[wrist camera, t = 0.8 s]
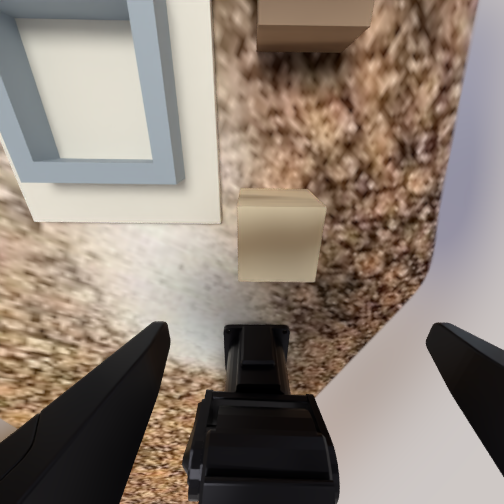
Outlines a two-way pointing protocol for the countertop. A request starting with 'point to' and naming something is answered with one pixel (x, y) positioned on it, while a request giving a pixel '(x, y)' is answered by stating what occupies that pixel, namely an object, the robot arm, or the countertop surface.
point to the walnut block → (311, 24)
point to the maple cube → (279, 235)
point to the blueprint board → (111, 109)
